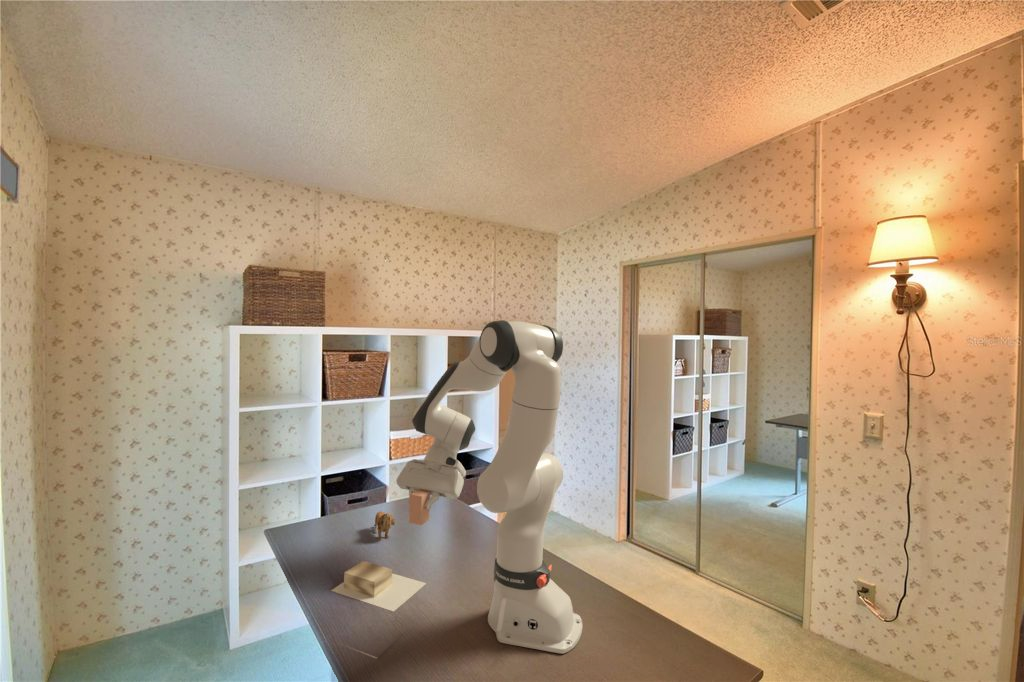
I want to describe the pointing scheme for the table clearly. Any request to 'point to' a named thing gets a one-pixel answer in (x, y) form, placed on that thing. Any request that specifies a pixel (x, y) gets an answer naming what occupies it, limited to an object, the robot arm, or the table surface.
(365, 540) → the table surface
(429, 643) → the table surface
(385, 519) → the lion figurine
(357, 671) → the table surface
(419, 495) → the pillar
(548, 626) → the robot arm
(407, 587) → the mat
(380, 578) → the plinth
